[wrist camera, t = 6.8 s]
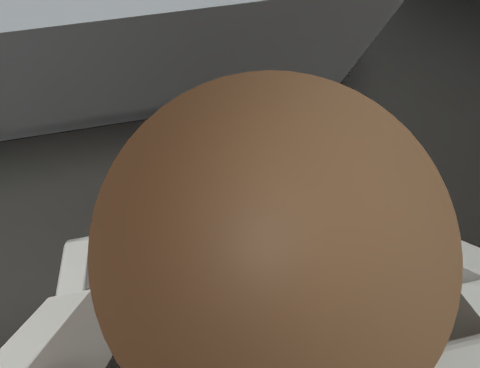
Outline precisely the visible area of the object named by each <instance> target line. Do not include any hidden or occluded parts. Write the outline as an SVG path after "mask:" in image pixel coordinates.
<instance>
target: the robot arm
mask: <svg viewBox="0 0 480 368" xmlns="http://www.w3.org/2000/svg"><path fill="white" fill-rule="evenodd" d="M88 242H89V236H88V237H83V238H77V239H71V240H67V242H66V243H65V245H64V250H63V256H62V261H61V267H60V273H59V279H58V285H57V290H56V296H54V297H49V298H48V299H47V300H46V301H45V302H44V303H43V304H42V305H41V306H40V307H39V308H38V309H37V310H36V311H35V312H34V313H33V314H32V316H31V317H30V318H29V319H28V320H27V321H26V322H25V323H24V324H23V325H22V326H21V327H20V328H19V329H18V330H17V331H16V333H15V334H14V335H13V336H12V337H11V338H10V339H9V340H8V341H7V342H6V343H5V344H4V345H3V346H2V347H1V349H0V368H106V366H107V364H108V363H109V361H110V359H111V357H112V356H113V355H112V353H111V351H110V349H109V347H108V345H107V343H106V341H105V339H104V337H103V334H102V331H101V328H100V326H99V323H98V320H97V317H96V314H95V311H94V306H93V301H92V296H91V292H90V287H89V275H88V261H87V258H88ZM461 245H462V255H463V275H462V289H461V296H460V302H459V309H458V312H457V316H456V319H455V323H454V326H453V330H452V333H451V335H450V337H449V340H448V342H447V344H446V347H445V349H444V351H443V354H442V356H441V357H440V359H439V361H438V362H437V364H436V366H435V367H434V368H480V248H479V247H476V246H474V245H472V244H469V243H467V242H464V241H462V240H461Z"/></svg>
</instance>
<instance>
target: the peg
mask: <svg viewBox="0 0 480 368" xmlns="http://www.w3.org/2000/svg"><path fill="white" fill-rule="evenodd" d="M87 261H88V275H89V287H90V292H91V296H92V301H93V306H94V311H95V314H96V317H97V320H98V323H99V326H100V328H101V331H102V334H103V337H104V339H105V341H106V343H107V345H108V347H109V349H110V351H111V353H112V355H113V356H114V358H115V360H116V362H117V364H118V365H119V366H120V368H434V367H435V366H436V364H437V362H438V361H439V359H440V357H441V356H442V354H443V351H444V349H445V347H446V344H447V342H448V340H449V337H450V335H451V333H452V330H453V326H454V323H455V319H456V316H457V312H458V309H459V302H460V296H461V289H462V275H463V255H462V245H461V235H460V231H459V226H458V222H457V217H456V213H455V210H454V207H453V204H452V201H451V198H450V195H449V192H448V190H447V188H446V186H445V184H444V182H443V179H442V177H441V175H440V173H439V171H438V169H437V168H436V166H435V164H434V163H433V161H432V160H431V158H430V157H429V155H428V154H427V152H426V151H425V149H424V148H423V147H422V145H421V144H420V143H419V142H418V141H417V139H416V138H415V137H414V136H413V134H412V133H411V132H410V131H409V130H408V129H407V128H406V127H405V126H404V125H403V124H402V123H401V122H400V121H399V120H398V119H397V118H395V117H394V116H393V115H392V114H391V113H389V112H388V111H387V110H385V109H384V108H383V107H381V106H380V105H379V104H377V103H376V102H375V101H373V100H371V99H370V98H368V97H366V96H364V95H363V94H361V93H359V92H358V91H356V90H354V89H351V88H349V87H347V86H344V85H342V84H340V83H338V82H335V81H332V80H329V79H325V78H322V77H319V76H315V75H311V74H305V73H299V72H293V71H277V70H263V71H251V72H243V73H238V74H233V75H228V76H223V77H220V78H217V79H215V80H212V81H209V82H206V83H203V84H200V85H198V86H196V87H194V88H192V89H190V90H188V91H186V92H184V93H182V94H180V95H179V96H177V97H176V98H174V99H173V100H171V101H170V102H168V103H167V104H165V105H164V106H162V107H161V108H160V109H159V110H157V111H156V112H155V113H154V114H153V115H152V116H151V117H149V118H148V119H147V120H146V121H145V122H144V123H143V124H142V125H141V126H140V127H139V128H138V129H137V130H136V132H135V133H134V134H133V135H132V136H131V137H130V138H129V140H128V141H127V142H126V143H125V145H124V146H123V148H122V149H121V151H120V152H119V154H118V155H117V157H116V158H115V160H114V161H113V163H112V165H111V167H110V169H109V171H108V173H107V175H106V177H105V179H104V181H103V183H102V186H101V189H100V192H99V195H98V198H97V201H96V204H95V207H94V211H93V216H92V221H91V226H90V231H89V242H88V258H87Z"/></svg>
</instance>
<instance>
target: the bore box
mask: <svg viewBox="0 0 480 368" xmlns="http://www.w3.org/2000/svg"><path fill="white" fill-rule="evenodd" d="M404 1H405V0H0V141H6V140H12V139H19V138H25V137H32V136H38V135H45V134H51V133H58V132H64V131H71V130H78V129H84V128H91V127H97V126H104V125H110V124H117V123H123V122H130V121H136V120H143V119H148V118H149V117H151V116H152V115H153V114H154V113H155V112H156V111H157V110H159V109H160V108H161V107H162V106H164V105H165V104H167V103H168V102H170V101H171V100H173V99H174V98H176V97H177V96H179V95H180V94H182V93H184V92H186V91H188V90H190V89H192V88H194V87H196V86H198V85H200V84H203V83H206V82H209V81H212V80H215V79H217V78H220V77H223V76H228V75H233V74H238V73H243V72H251V71H263V70H277V71H293V72H299V73H305V74H311V75H315V76H319V77H322V78H325V79H329V80H332V81H335V82H338V83H341V82H342V81H343V79H344V78H345V77H346V75H347V74H348V73H349V71H350V70H351V69H352V68H353V66H354V65H355V64H356V62H357V61H358V60H359V59H360V57H361V56H362V55H363V53H364V52H365V51H366V50H367V48H368V47H369V46H370V44H371V43H372V42H373V41H374V39H375V38H376V37H377V35H378V34H379V33H380V31H381V30H382V29H383V28H384V26H385V25H386V24H387V22H388V21H389V20H390V19H391V17H392V16H393V15H394V13H395V12H396V11H397V10H398V8H399V7H400V6H401V4H402V3H403V2H404Z"/></svg>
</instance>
